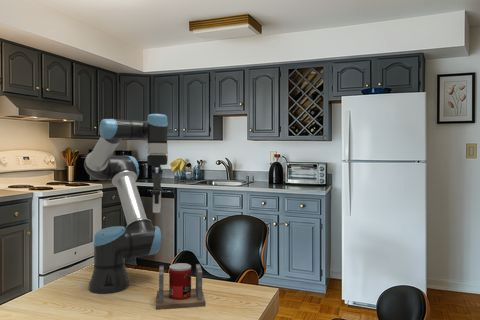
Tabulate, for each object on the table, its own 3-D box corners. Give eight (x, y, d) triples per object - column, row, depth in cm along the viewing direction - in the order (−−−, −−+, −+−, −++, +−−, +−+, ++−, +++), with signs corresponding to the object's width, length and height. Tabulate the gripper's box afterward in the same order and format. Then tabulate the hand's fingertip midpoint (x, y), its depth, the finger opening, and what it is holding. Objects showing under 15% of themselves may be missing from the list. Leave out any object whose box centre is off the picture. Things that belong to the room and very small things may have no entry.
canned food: (186, 300, 134) (187, 269, 134) (165, 299, 136) (165, 268, 136) (194, 293, 142) (194, 263, 141) (173, 291, 143) (173, 262, 143)
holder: (156, 294, 144) (156, 264, 144) (201, 292, 147) (202, 262, 147) (155, 309, 130) (155, 276, 130) (205, 306, 133) (205, 273, 133)
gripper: (148, 154, 158) (148, 205, 158) (145, 154, 133) (145, 215, 133) (167, 154, 159) (166, 205, 159) (167, 154, 135) (167, 214, 135)
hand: (157, 209), depth 146 cm, fingers open, 13 cm apart
